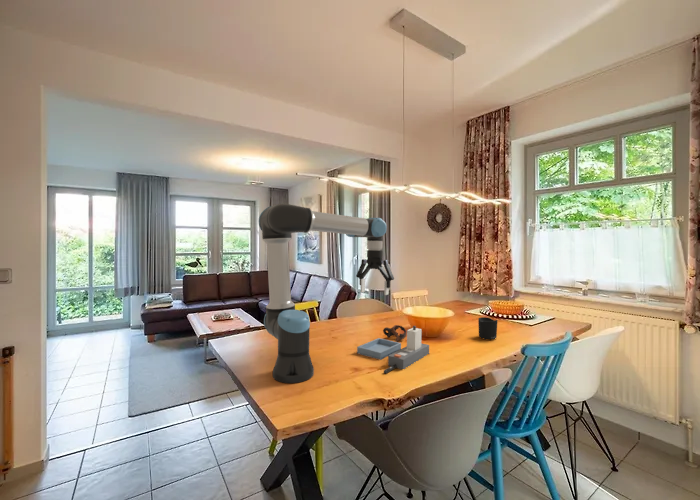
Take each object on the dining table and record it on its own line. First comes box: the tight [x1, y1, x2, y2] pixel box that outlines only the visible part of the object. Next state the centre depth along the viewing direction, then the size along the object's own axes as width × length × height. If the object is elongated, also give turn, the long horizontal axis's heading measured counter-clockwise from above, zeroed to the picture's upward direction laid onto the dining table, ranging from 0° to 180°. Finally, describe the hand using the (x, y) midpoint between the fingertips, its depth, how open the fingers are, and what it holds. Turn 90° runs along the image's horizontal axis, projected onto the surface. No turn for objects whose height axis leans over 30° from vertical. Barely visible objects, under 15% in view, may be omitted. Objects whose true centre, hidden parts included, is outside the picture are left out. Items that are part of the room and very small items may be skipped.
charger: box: [406, 325, 423, 350], centre depth 140 cm, size 6×4×12 cm, turn 142°
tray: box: [356, 337, 402, 361], centre depth 146 cm, size 18×13×3 cm
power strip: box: [383, 342, 430, 375], centre depth 133 cm, size 32×7×5 cm, turn 142°
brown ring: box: [382, 324, 407, 343], centre depth 165 cm, size 12×10×8 cm
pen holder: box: [477, 316, 498, 340], centre depth 170 cm, size 9×9×10 cm
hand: (374, 293), depth 154 cm, fingers open, 13 cm apart
